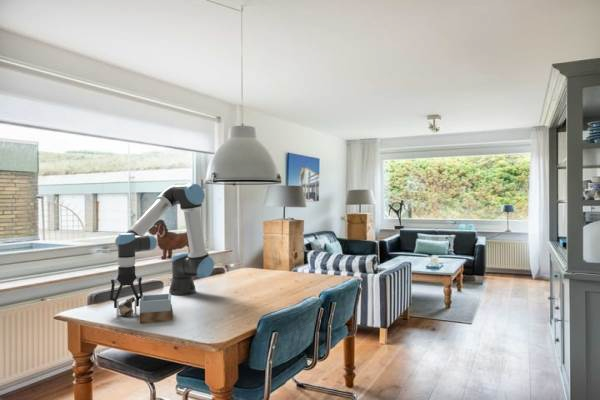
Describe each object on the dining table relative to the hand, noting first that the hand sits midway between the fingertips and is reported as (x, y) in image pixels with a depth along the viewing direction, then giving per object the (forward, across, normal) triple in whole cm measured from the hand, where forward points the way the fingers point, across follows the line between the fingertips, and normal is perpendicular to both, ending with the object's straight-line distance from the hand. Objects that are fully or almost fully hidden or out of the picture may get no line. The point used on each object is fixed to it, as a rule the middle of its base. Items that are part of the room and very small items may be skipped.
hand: (126, 313), depth 199 cm
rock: (0, 0, 0) cm, 1 cm away
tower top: (-4, -13, +11) cm, 18 cm away
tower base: (+1, -13, +11) cm, 17 cm away
